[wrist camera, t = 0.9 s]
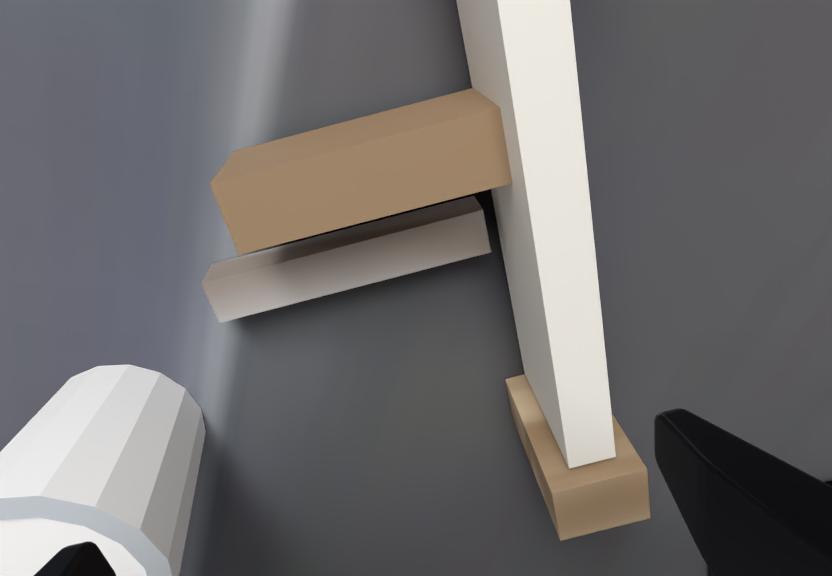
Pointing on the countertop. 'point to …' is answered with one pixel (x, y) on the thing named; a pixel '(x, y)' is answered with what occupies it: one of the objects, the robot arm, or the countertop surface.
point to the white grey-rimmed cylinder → (103, 474)
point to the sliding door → (462, 175)
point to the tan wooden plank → (410, 252)
